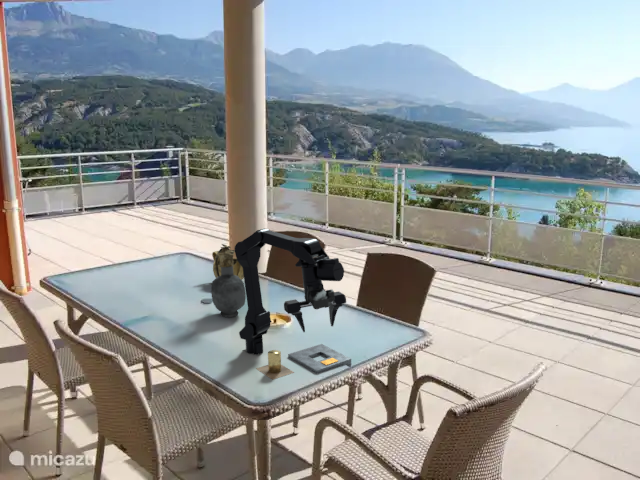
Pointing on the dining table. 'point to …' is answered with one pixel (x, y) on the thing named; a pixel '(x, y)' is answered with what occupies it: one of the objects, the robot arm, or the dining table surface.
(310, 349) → the hole plate
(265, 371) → the pad
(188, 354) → the dining table surface
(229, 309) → the grey stone vase
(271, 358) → the brass peg
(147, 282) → the dining table surface
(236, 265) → the dried plant tuft
